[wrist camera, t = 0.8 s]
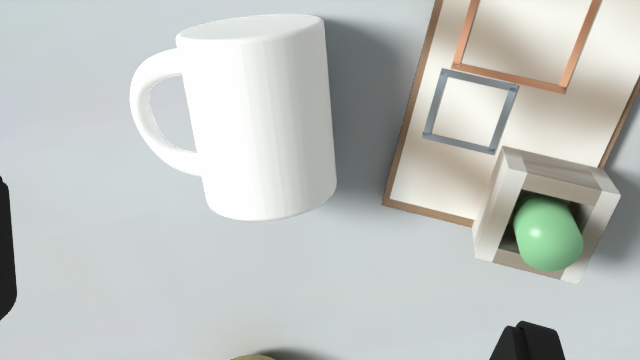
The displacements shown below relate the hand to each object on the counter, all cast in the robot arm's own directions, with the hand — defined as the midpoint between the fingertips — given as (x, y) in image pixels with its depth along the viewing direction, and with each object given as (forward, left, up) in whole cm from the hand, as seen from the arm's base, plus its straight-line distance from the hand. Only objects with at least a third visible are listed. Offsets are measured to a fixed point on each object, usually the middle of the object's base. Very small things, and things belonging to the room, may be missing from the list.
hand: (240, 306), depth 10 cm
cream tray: (-1, +9, -25) cm, 27 cm away
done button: (+7, +12, -22) cm, 26 cm away
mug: (+5, -7, -26) cm, 27 cm away
